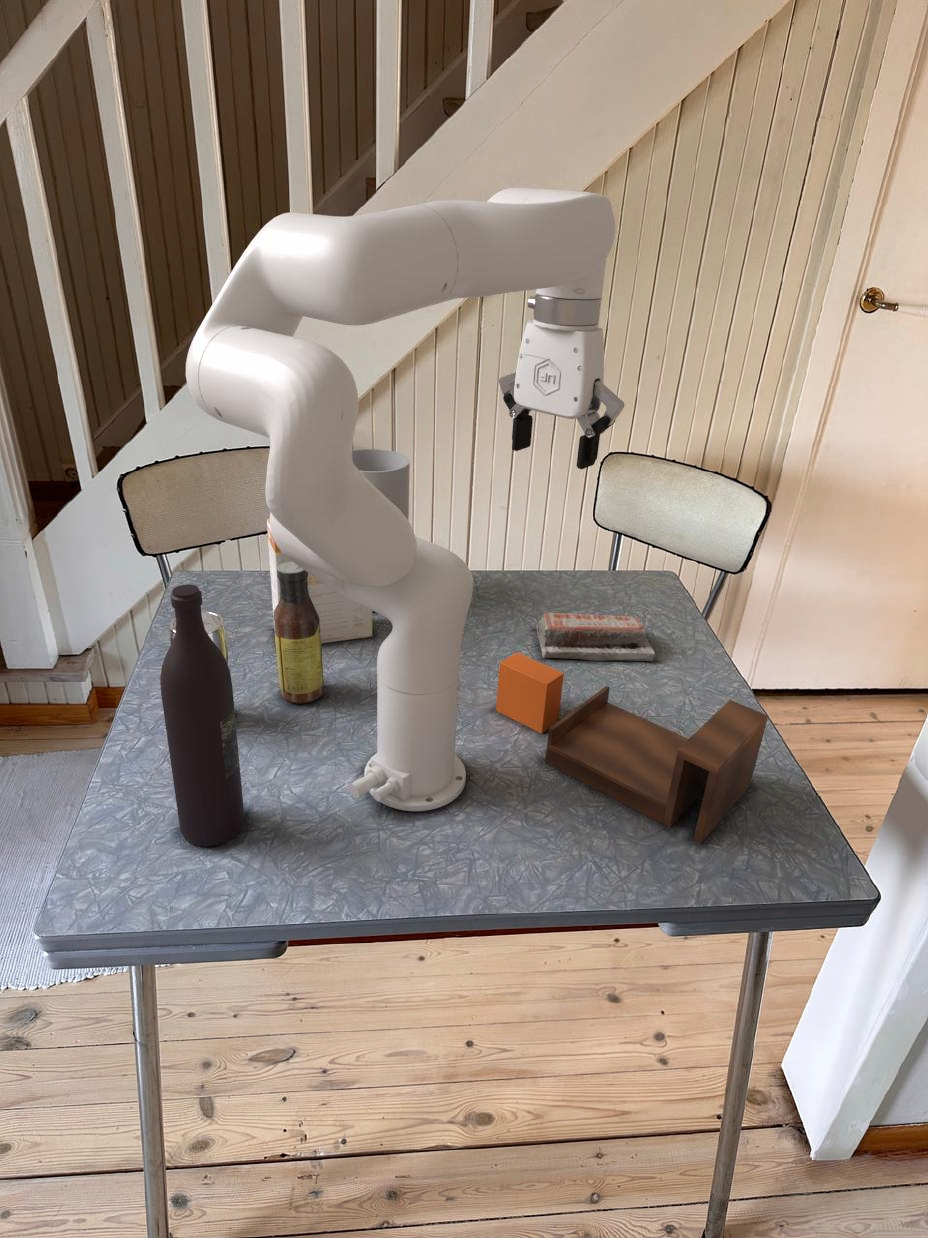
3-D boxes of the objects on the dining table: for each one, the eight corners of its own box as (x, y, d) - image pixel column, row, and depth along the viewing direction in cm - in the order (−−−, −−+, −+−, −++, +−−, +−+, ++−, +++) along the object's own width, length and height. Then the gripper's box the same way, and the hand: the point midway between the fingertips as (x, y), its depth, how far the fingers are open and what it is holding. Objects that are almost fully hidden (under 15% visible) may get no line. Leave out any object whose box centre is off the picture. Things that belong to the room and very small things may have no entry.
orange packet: (541, 734, 115) (547, 684, 111) (495, 710, 119) (499, 662, 115) (558, 721, 118) (564, 673, 114) (512, 699, 122) (516, 652, 118)
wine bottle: (240, 847, 93) (217, 606, 79) (174, 849, 92) (139, 606, 78) (248, 805, 99) (227, 574, 85) (186, 807, 98) (155, 574, 84)
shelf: (700, 844, 97) (719, 768, 92) (544, 762, 109) (553, 691, 104) (749, 787, 107) (768, 715, 102) (601, 718, 119) (611, 651, 114)
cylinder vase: (332, 583, 153) (329, 449, 141) (400, 579, 156) (402, 448, 144) (339, 615, 142) (336, 473, 130) (412, 610, 145) (415, 471, 133)
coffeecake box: (362, 617, 142) (361, 508, 133) (373, 637, 136) (373, 525, 127) (272, 629, 137) (265, 516, 128) (280, 650, 131) (273, 534, 122)
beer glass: (217, 699, 118) (207, 604, 111) (244, 721, 114) (235, 624, 107) (171, 718, 114) (157, 620, 107) (197, 741, 109) (185, 641, 102)
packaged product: (544, 633, 130) (537, 604, 139) (541, 660, 132) (535, 629, 141) (659, 636, 131) (645, 607, 140) (654, 662, 133) (640, 632, 142)
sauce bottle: (332, 694, 121) (329, 568, 111) (297, 711, 117) (290, 582, 107) (304, 676, 125) (298, 553, 115) (269, 692, 120) (260, 566, 111)
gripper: (487, 305, 98) (479, 447, 107) (615, 326, 89) (595, 481, 97) (525, 300, 104) (514, 436, 112) (649, 319, 94) (628, 467, 102)
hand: (552, 457), depth 104 cm, fingers open, 9 cm apart
